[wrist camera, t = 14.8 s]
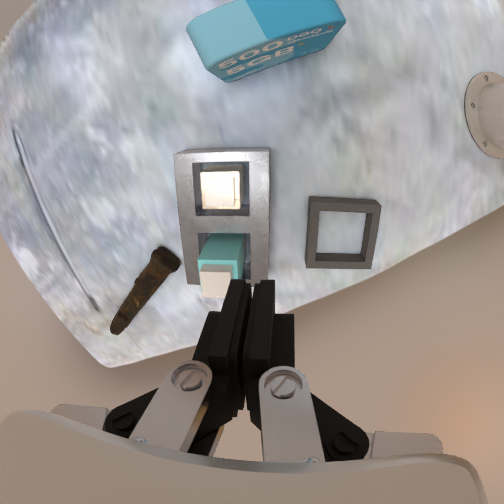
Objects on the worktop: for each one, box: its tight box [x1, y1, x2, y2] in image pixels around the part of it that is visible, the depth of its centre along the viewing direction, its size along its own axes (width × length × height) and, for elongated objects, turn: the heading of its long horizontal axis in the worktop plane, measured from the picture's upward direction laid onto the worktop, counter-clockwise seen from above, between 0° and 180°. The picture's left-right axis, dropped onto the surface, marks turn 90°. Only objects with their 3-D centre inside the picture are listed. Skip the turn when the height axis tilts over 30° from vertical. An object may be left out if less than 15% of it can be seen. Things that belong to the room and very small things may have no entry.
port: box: [173, 148, 269, 287], centre depth 33 cm, size 10×16×5 cm, turn 1°
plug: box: [197, 233, 246, 298], centre depth 33 cm, size 4×4×10 cm
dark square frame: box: [305, 197, 381, 269], centre depth 34 cm, size 8×8×2 cm
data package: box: [186, 0, 346, 82], centre depth 21 cm, size 12×4×12 cm, turn 114°
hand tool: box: [110, 247, 181, 335], centre depth 40 cm, size 19×4×5 cm, turn 137°
